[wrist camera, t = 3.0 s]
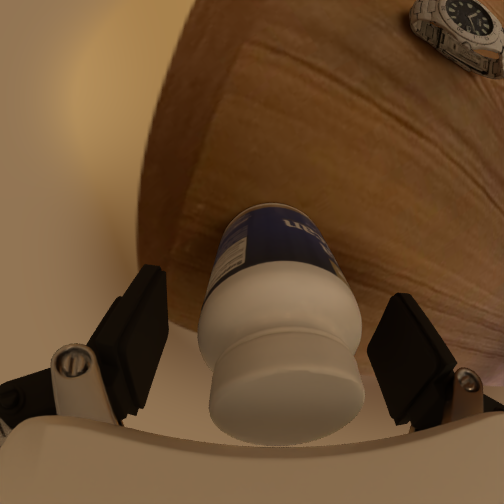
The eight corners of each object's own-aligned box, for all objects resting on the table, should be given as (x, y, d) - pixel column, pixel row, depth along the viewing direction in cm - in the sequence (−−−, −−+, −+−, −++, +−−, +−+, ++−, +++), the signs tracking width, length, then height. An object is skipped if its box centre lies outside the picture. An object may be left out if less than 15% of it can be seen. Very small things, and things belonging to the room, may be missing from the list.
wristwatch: (403, -3, 8) (450, -32, 3) (480, 53, 9) (533, 49, 4) (394, 40, 9) (448, 16, 5) (474, 95, 10) (532, 100, 6)
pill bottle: (341, 238, 14) (427, 384, 6) (280, 306, 16) (297, 463, 8) (258, 178, 13) (266, 300, 4) (201, 260, 15) (150, 421, 6)
